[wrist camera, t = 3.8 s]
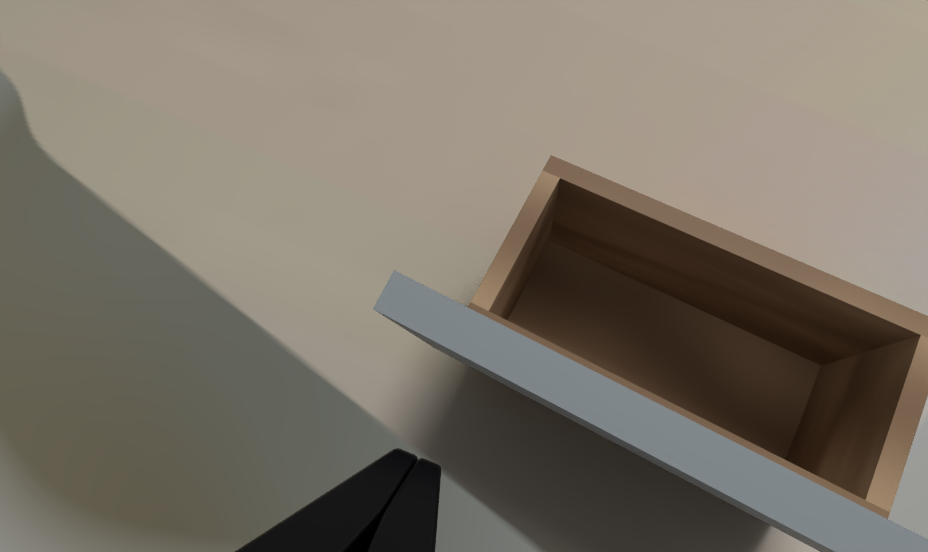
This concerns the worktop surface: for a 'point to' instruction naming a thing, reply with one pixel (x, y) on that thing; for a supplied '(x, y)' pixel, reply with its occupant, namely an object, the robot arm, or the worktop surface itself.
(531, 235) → the walnut box
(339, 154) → the worktop surface
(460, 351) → the box lid
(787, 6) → the worktop surface
